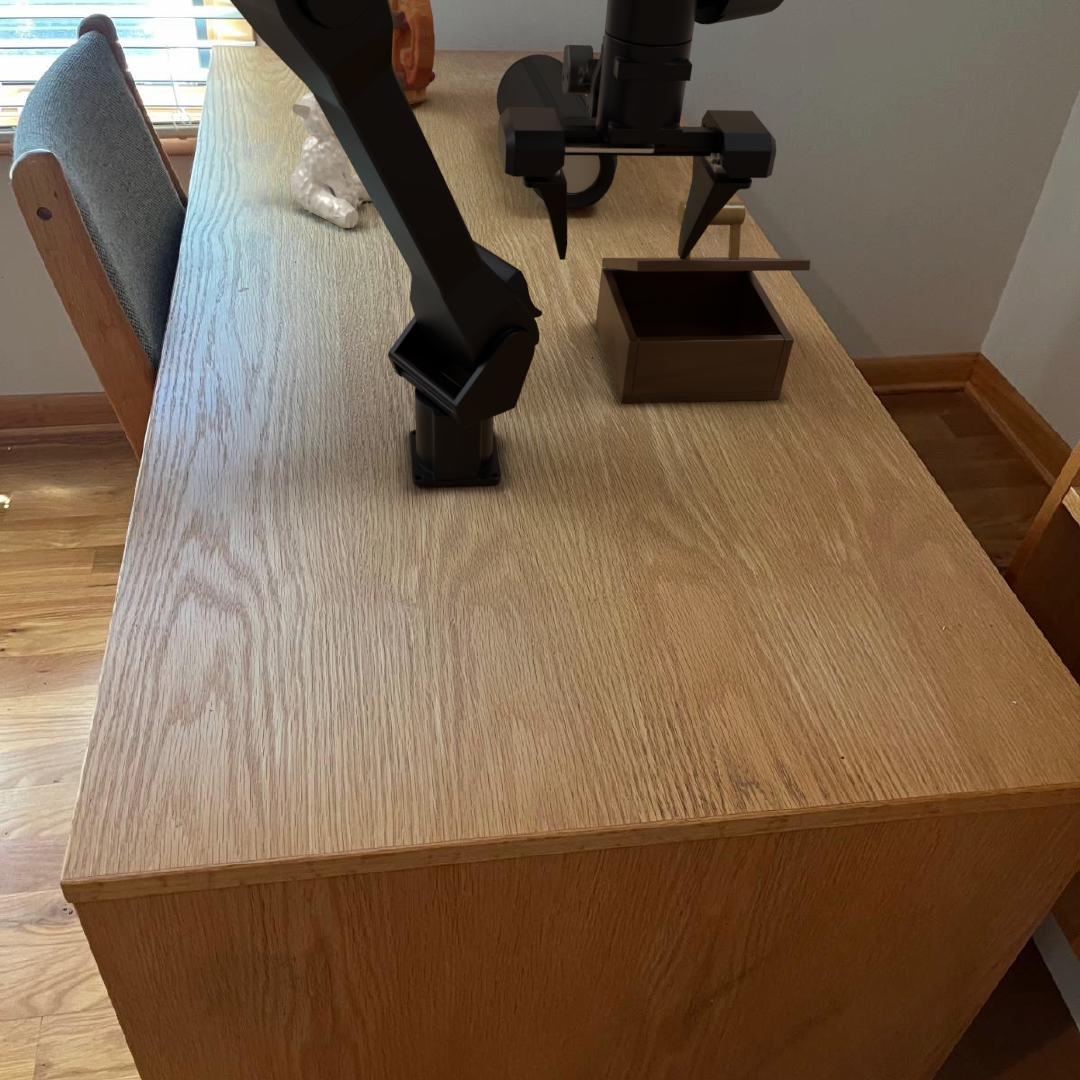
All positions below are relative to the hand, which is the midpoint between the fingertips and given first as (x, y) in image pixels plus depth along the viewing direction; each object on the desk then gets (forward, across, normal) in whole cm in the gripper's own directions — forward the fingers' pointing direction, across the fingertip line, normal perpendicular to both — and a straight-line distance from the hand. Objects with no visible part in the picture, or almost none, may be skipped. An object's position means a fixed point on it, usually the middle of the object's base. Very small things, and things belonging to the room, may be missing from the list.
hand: (621, 257), depth 77 cm
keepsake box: (+12, -8, -5) cm, 16 cm away
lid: (+4, -8, -5) cm, 10 cm away
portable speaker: (+13, -2, -47) cm, 49 cm away
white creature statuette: (+13, +23, -37) cm, 45 cm away
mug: (+13, +14, -68) cm, 71 cm away
